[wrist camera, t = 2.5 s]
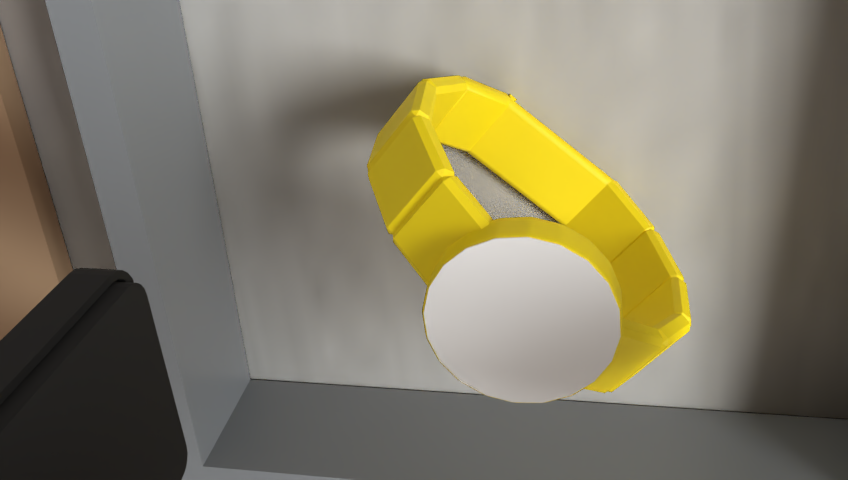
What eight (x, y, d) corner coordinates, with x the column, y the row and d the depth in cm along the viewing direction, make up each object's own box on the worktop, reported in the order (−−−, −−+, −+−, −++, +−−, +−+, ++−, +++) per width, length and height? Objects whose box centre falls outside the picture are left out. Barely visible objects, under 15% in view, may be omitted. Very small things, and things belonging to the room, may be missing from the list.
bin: (884, 450, 18) (936, 560, 16) (225, 402, 21) (175, 489, 18) (1098, -263, 12) (1250, -280, 9) (97, -206, 14) (-10, -205, 12)
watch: (390, 120, 17) (283, 249, 11) (474, 14, 15) (396, 105, 10) (610, 298, 17) (604, 498, 12) (708, 211, 16) (749, 393, 11)
